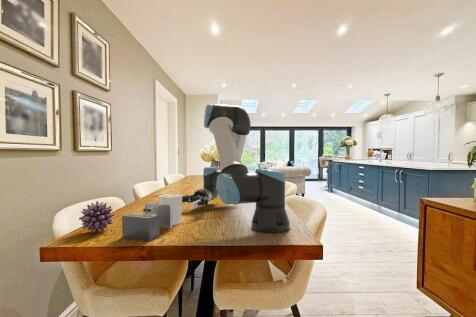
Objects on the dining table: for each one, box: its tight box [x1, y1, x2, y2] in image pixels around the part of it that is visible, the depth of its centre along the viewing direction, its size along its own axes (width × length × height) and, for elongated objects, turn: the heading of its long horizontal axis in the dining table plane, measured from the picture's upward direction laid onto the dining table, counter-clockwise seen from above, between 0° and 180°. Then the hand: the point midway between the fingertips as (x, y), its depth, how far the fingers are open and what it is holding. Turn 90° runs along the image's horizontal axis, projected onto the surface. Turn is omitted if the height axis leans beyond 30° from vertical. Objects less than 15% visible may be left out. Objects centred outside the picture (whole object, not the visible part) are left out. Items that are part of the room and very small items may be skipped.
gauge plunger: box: [142, 202, 173, 229], centre depth 93 cm, size 12×7×9 cm, turn 71°
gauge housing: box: [121, 212, 160, 242], centre depth 87 cm, size 12×5×8 cm, turn 71°
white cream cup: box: [158, 193, 184, 227], centre depth 104 cm, size 10×10×12 cm
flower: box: [78, 200, 116, 233], centre depth 93 cm, size 12×12×12 cm
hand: (180, 204), depth 112 cm, fingers open, 13 cm apart
